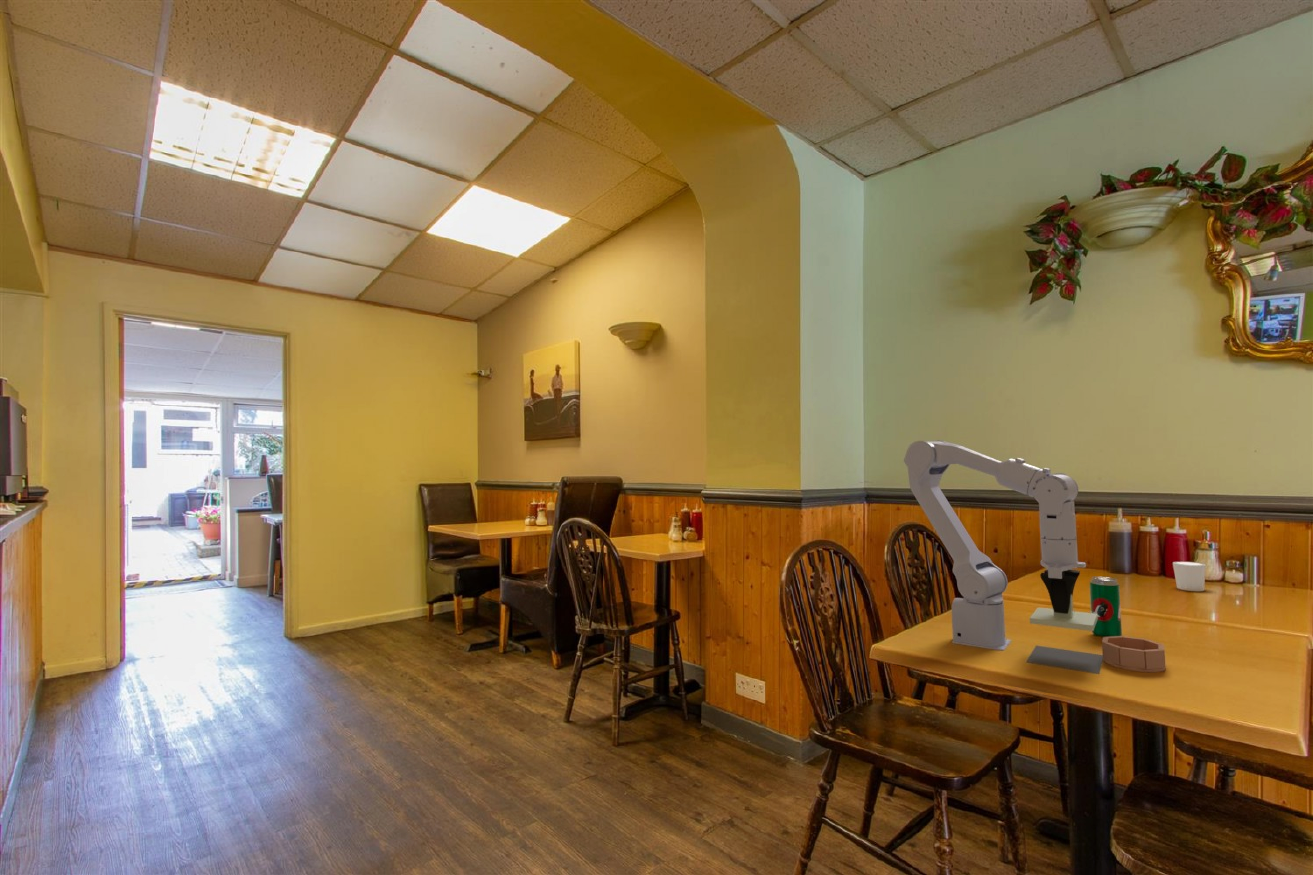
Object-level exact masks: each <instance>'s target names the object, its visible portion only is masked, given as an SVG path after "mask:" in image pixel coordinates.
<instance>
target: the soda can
mask: <svg viewBox="0 0 1313 875" xmlns="http://www.w3.org/2000/svg"><path fill="white" fill-rule="evenodd" d="M1120 590H1121V589H1120V583H1118V580H1117V579H1116V578H1113V577H1107V576H1091V580H1090V581H1089V597H1090V598H1089V601H1090V613H1094V614H1097V616H1098V620H1097V622H1096V625H1095V628H1094V631H1091V633H1092V634H1093V636H1095V637H1102V638H1103V637H1112V636H1123V634H1122V631H1123V630H1122V611H1121V610H1122V609H1121V594H1120V593H1121V592H1120Z"/></svg>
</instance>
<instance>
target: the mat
mask: <svg viewBox="0 0 1313 875" xmlns="http://www.w3.org/2000/svg"><path fill="white" fill-rule="evenodd" d="M1103 661H1104V659H1103V654H1098V653H1097V654H1096V653H1092V652H1082V651H1079V650H1078V651H1077V650H1070V649H1063V648H1058V647H1057V648H1056V647H1050V646H1041V645H1035V646H1034V648H1033V650H1032V652H1031V653H1030V655H1029V656H1028V658H1027V660H1026V661H1025V663H1029V664H1035V665H1040V666H1041V665H1042V666H1048V667H1053V668H1059V669H1064V670H1065V669H1066V670H1072V671H1077V672H1084V673H1091V674H1094V675H1095V674H1097V675H1100V673H1101V669H1102V665H1103Z"/></svg>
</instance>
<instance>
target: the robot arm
mask: <svg viewBox="0 0 1313 875" xmlns="http://www.w3.org/2000/svg"><path fill="white" fill-rule="evenodd" d="M903 463H904V464H905V466H906V467H907V473H908V482H909V488H910V491H911V492H912V494H913V496H914V497H915V499H916V502H918V504H919V506H920V508H921V509H922V511H923V512H924V514H925V516H926V517H927V519H928V520H929V522H930V524H931V525H932V528H934V531H935V533H936V534H937V535H938V537H939V538H940V540H941V542H942V544H943V545H944V547H945V549H946V550H947V552H948V554H949V555H950V556H951V558H952V560H953V564H952V565H953V566H952V574H953V575H954V576H955V577H954V578H955V579H956V584H957V589H958V592H959V593H960V595H961V596H962V597H963V598H962V597H954V599H953V601H952V604H951V623H952V626H951V628H952V644H956V645H957V644H958V645H963V646H970V647H976V648H982V649H989V650H994V651H1005V650H1006V648H1007V647H1009V645H1010V643H1011V642H1012V640H1011V639H1010V638H1006V626H1005V625H1006V624H1005V623H1006V622H1005V607H1004V597H1003V593H1005V591H1006V590H1007V587H1008V584H1009V582H1008V576H1007V575H1006V573H1005V572H1004V570H1002V568H1000V567H998V566H997V565H996V564H994V563H993V561H992V560H991V557H989V556H988V555H987V554H985V553H983V552H982V551H981V550H979V549H978V547H977V545H976V543H975V542H974V540H973V539H972V537H971V535H970V534H969V533H968V531H967V530H966V528H965V526H964V525H963V523H962V521H961V520H960V518H959V517H958V515H957V514H956V512H955V510H954V509H953V507H952V505H951V504H950V503H949V501H948V499H947V498H946V496H945V494H944V493H943V491H942V490H941V488H940V485H939V484H940V482H941V480H942V477H943V475H944V474H945V472H946V471H947V469H948V468H949V467H950V465H960V466H963V467H966V468H969V469H972V470H976V471H978V472H980V473H984V474H986V475H990V476H993V477H994V478H995V479H996V481H997V483H998V485H999V486H1002V487H1004V488H1007V489H1011V490H1013V491H1016V492H1018V493H1020V494H1022V495H1025V496H1028V497H1030V498H1034V499H1035V501H1037V502H1038V510H1039V512H1038V516H1039V517H1038V519H1039V534H1040V536H1039V537H1040V552H1041V560H1040V565H1041V566H1042V567H1043V568H1045V569H1046V570H1044V571H1043V572H1041V573H1040V574H1039V576H1040V577H1039V578H1041V581H1042V582H1043V584H1044V585H1045V587H1046V590H1047V593H1048V596H1049V599H1050V602H1051V607H1052V609H1053V610H1054V612H1056V613H1064V614H1068V611H1069V607H1070V598H1071V594H1072V598H1073V596H1074V589H1075V586H1076V583H1077V580H1078V578H1079V576H1080V574H1081V570H1074V569H1079V568H1086V567H1087V563H1086V562H1084V561H1079V559H1078V558H1079V556H1078V555H1079V554H1078V541H1077V540H1078V539H1077V536H1078V535H1077V521H1076V520H1077V518H1076V513H1075V512H1076V510H1075V508H1076V507H1075V499H1076V498H1077V496H1078V494H1079V486H1078V484H1077V482H1076V480H1075V479H1074V478H1073V477H1071V476H1069V475H1067V474H1066V473H1064V472H1063V473H1062V472H1058V473H1053V474H1052V473H1051V469H1050V468H1048V467H1043V468H1039V467H1037V466H1034V465H1032V464H1029V463H1026V459H1023V458H1021V457H1016V458H1015V459H1014V458H1008V459H1006V460H1004V461H1001V460H998V459H995V458H993V457H991V456H988V455H985V454H984V453H980V452H978V451H975V450H973V449H970V448H968V447H966V446H962V445H960V444H957V443H953V442H952V443H951V442H947V441H945V440H939V439H938V440H932V441H931V440H927V441H924V440H915V441H914V442H912V443H911V444H910V445H909V446H908V448H907V449H906V453H905V456H904V459H903Z"/></svg>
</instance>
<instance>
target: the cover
mask: <svg viewBox="0 0 1313 875" xmlns="http://www.w3.org/2000/svg"><path fill="white" fill-rule="evenodd" d="M1097 620H1098V616H1097V614H1094V613H1091V612H1083V611H1074V601H1073V597H1072V594H1071V598H1070V607H1069V611H1068V614H1064V613H1056V612H1054V610H1053V608H1046V607H1039V606H1038V607H1037V608H1036V609H1035V611H1034V612H1033V613H1032V614H1031V615H1030V616H1029V624H1031V625H1032V624H1033V625H1041V626H1049V627H1056V628H1064V629H1071V630H1072V629H1073V630H1080V631H1089V632H1092V631H1094V628H1095V625H1096V622H1097Z"/></svg>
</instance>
